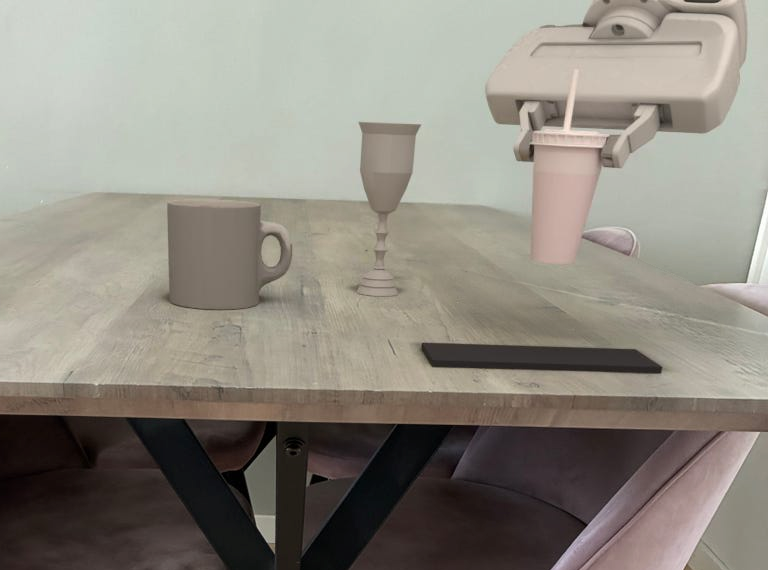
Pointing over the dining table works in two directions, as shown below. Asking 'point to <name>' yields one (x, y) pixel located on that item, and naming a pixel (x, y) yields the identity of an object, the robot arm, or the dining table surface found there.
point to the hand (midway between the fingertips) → (565, 159)
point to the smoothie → (563, 186)
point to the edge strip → (539, 358)
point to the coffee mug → (220, 253)
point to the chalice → (385, 188)
